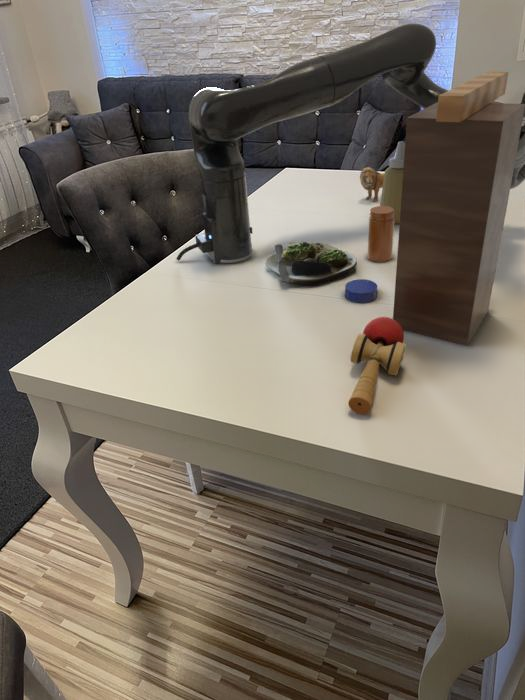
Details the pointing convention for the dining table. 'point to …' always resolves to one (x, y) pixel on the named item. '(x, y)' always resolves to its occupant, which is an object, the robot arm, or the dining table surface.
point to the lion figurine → (371, 182)
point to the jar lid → (361, 290)
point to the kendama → (375, 358)
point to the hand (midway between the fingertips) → (494, 98)
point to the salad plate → (310, 263)
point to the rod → (470, 97)
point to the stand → (453, 218)
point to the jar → (380, 233)
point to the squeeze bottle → (394, 182)
